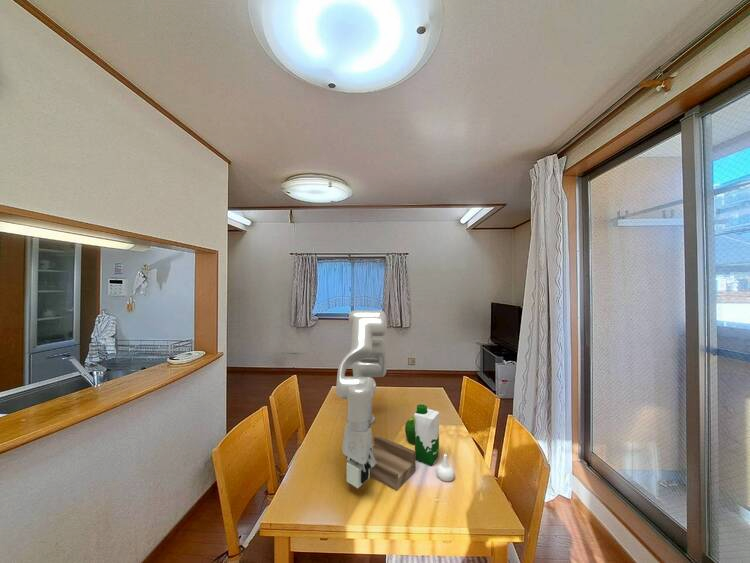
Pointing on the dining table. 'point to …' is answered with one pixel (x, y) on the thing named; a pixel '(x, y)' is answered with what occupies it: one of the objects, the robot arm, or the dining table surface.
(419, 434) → the milk carton
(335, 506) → the dining table surface
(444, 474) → the garlic bulb
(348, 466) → the cabinet
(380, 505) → the dining table surface
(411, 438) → the bell pepper
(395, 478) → the shelf
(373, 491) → the dining table surface
